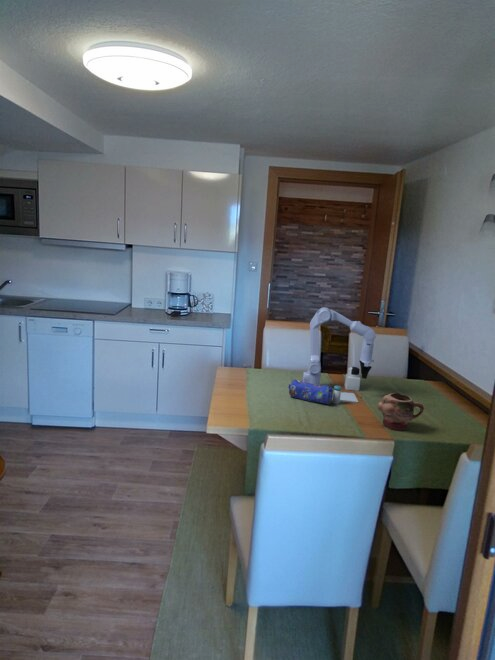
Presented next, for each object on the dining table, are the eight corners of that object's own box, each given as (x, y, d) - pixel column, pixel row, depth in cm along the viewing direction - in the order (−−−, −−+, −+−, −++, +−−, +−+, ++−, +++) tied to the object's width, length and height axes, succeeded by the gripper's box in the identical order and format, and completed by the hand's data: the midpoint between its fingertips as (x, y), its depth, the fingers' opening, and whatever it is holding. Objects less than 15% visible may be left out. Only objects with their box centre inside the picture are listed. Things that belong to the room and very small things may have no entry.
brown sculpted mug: (413, 421, 201) (418, 392, 198) (425, 433, 189) (430, 402, 186) (371, 419, 199) (375, 390, 196) (380, 431, 187) (385, 400, 185)
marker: (332, 403, 216) (334, 387, 214) (332, 401, 219) (333, 385, 218) (340, 404, 216) (342, 388, 214) (339, 401, 219) (341, 385, 217)
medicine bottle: (357, 387, 245) (359, 366, 242) (359, 391, 238) (361, 370, 235) (344, 385, 245) (346, 365, 243) (345, 389, 238) (348, 368, 236)
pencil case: (285, 398, 220) (287, 380, 218) (291, 393, 227) (293, 375, 225) (329, 407, 211) (331, 388, 209) (333, 402, 219) (335, 384, 217)
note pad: (340, 401, 220) (340, 399, 220) (336, 392, 233) (336, 391, 233) (358, 402, 220) (358, 401, 220) (353, 393, 233) (353, 392, 233)
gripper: (376, 355, 221) (372, 381, 224) (373, 349, 235) (370, 373, 237) (361, 353, 222) (358, 379, 225) (360, 347, 236) (357, 371, 239)
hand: (363, 376), depth 231 cm, fingers open, 7 cm apart
